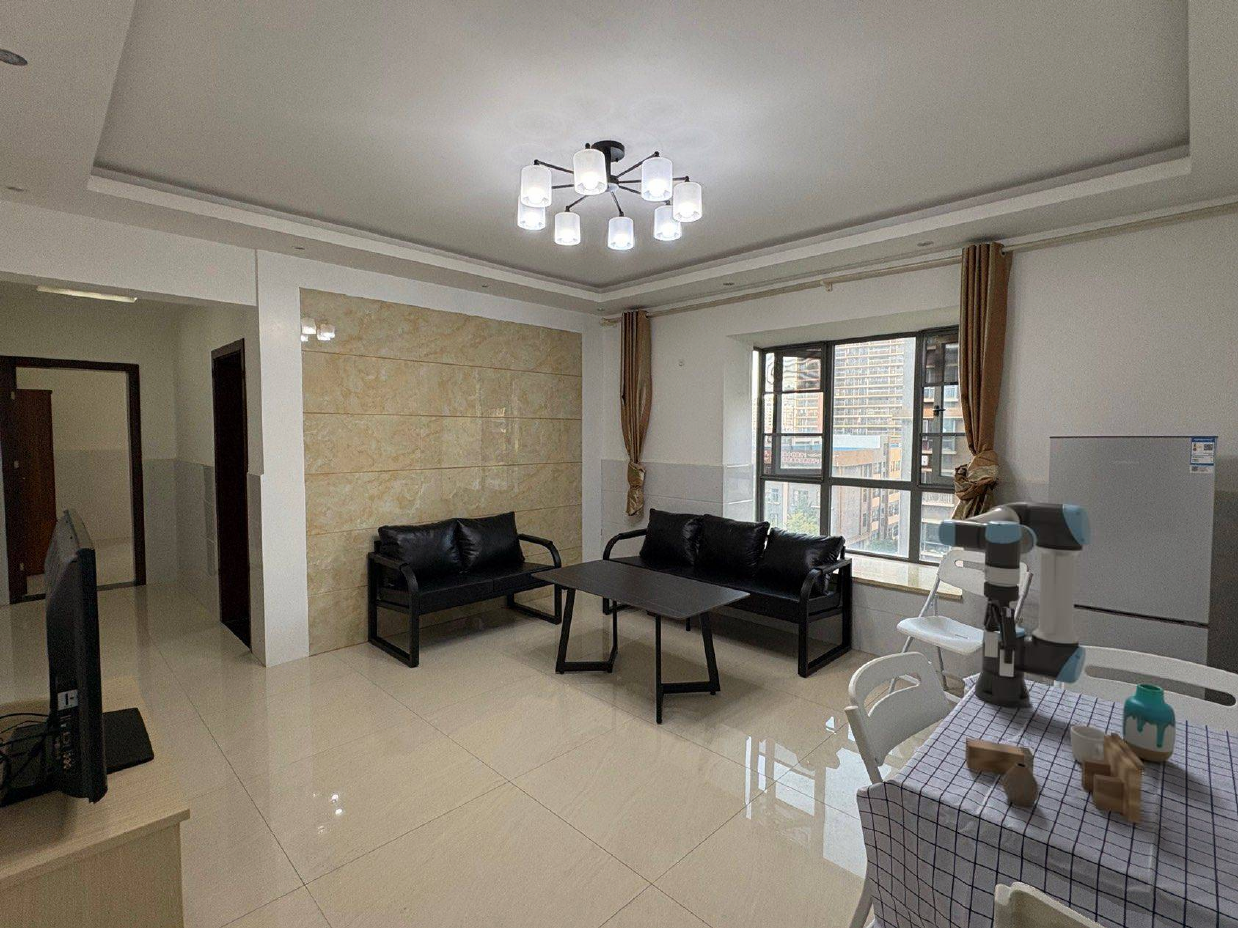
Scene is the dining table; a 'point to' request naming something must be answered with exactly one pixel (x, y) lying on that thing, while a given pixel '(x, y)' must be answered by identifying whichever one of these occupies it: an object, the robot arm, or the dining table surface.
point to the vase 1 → (1020, 785)
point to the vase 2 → (1149, 724)
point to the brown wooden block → (996, 756)
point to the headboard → (1115, 778)
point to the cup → (1087, 742)
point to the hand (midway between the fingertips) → (998, 665)
